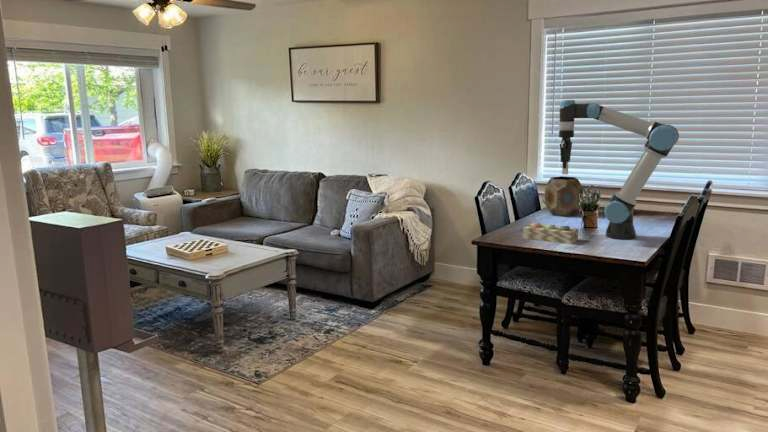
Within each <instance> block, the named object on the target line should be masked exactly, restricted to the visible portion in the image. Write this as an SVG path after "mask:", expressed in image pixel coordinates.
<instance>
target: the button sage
mask: <svg viewBox="0 0 768 432" xmlns="http://www.w3.org/2000/svg"><path fill="white" fill-rule="evenodd" d="M545 225H546V229H553V230H554V229H555V226H556V224H550V223H549V224H545Z"/></svg>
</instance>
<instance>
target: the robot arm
mask: <svg viewBox="0 0 768 432" xmlns="http://www.w3.org/2000/svg"><path fill="white" fill-rule="evenodd" d="M575 119H594V120H596V121H599V122H603V123H606V124H607V125H611V126H614V127H617V128H620V129H622V130H625V131H628V132H631V133H634V134H637V135H640V136H642V137H645V139H646V140H647V141H646V142H645V143H644V146H643V148H644V151H643V153H642V155H641V156H640V157H639V160H638V161H637V163H636V164H635V166H634V167H633V169H632V171H631V172H630V174H629V175H628V177H627V179H626V180H625V182H624V183H623V185H622V187H621V189H620V190H619V191H616V192H615V193H613V194H611V196H610V200H609V202H608V203H607V204H606V205H605V207H604V210H603V211H604V212H603V213H604V216H605V218H606V220H608V225H607V228H606V230H605V237H608V238H610V239H616V240H632V239H633V240H634V239H636V237H637V235H636V234H637V232H636V229H635V226H634V215H633V213H634V210H635V207H636V205H637V201H636V199H637V198H638V196H639V195H640V193H641V191H642V190H643V188H644V187H645V186H646V184H647V182H648V181H649V179H650V178H651V176H652V174H653V173H654V172H655V169H656V168H657V167H658V165H659V163H660V162H661V160H662V159H663V158H667V157H668V155H669V154H670V152H671V151H672V150H673V148H674V146H675V145H676V144H677V142H678V140H679V137H680V133H679V130H678V129H677V128H676V127H675V126H673V125H672V124H666V123H661V122H657V121H653V122H651V121H648V120H646V119H641V118H640V117H639V118H638V117H637V116H636V117H635V116H633V115H630V114H627V113H624V112H621V111H618V110H615V109H612V108H608V107H606V106H602V105H600V104H599V103H596V102H590V103H589V102H588V103H586V102H585V103H576V100H575V99H564V100H563V99H562V100H561V101H560V102H559V123H558V127H559V131H558V137H559V138H561V143H559V151H560V163H562V164H561V165H562V166H561V167H562V169H561V175H569V163H570V162H571V155H572V146H573V142H572V140H571V138H574V137H575V130H574V129H575Z"/></svg>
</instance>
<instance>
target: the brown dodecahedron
mask: <svg viewBox="0 0 768 432" xmlns="http://www.w3.org/2000/svg"><path fill="white" fill-rule="evenodd" d="M580 193H581V194H582V195H583V196H584V187H583V185H582V183H581V182H580V180H579V179H578V178H577V177H575V176H554V177H550V178H549V179H548V181H547V183H546V186H545V188H544V195H545V197H544V203H543V204H544V205H545V207H546V209H547V210H548V211H549V213H550V214H551V216H556V215H557V216H559V217H573V216H577V215H578V213H579V212H581V209H580V206H579V202H580V200H579V194H580ZM572 215H573V216H572Z"/></svg>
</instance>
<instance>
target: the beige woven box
mask: <svg viewBox="0 0 768 432" xmlns="http://www.w3.org/2000/svg"><path fill="white" fill-rule="evenodd" d="M546 225H547V224H541V227H540V228H534V227H532V223H530V224H528V225H526V226H524V227H522V239H525V240H534V241H543V242H549V243H559V244H567V245H571V244H573V243H574V242H577V241H578V239H579V228H578V227H577V228H574V227H570V231H562V230H561V226H557V225H555V229H554V230H553V229H546Z"/></svg>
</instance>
